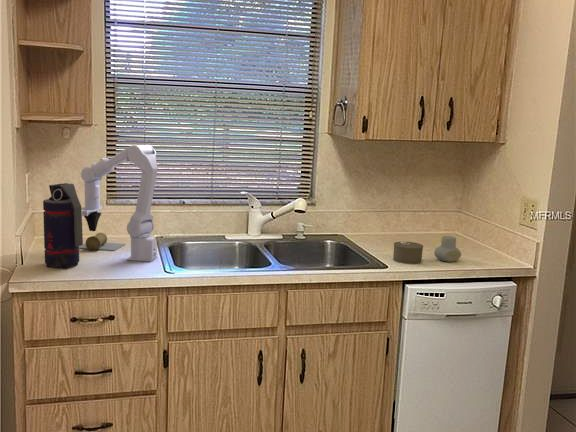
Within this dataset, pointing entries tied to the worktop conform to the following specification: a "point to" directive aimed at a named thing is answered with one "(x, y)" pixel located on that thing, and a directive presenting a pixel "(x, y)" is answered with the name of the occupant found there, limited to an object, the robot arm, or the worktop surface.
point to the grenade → (62, 226)
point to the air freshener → (447, 250)
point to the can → (408, 252)
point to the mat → (106, 246)
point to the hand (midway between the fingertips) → (92, 230)
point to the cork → (96, 241)
